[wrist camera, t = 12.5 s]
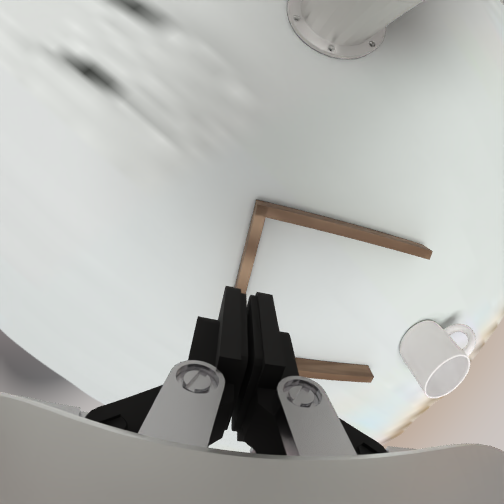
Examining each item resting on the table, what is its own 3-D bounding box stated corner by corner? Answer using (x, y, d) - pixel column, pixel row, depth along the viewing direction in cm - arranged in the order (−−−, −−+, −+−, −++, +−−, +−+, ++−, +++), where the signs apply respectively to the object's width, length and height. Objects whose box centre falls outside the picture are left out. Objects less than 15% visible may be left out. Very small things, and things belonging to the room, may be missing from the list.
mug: (451, 296, 43) (487, 329, 33) (458, 329, 45) (489, 362, 35) (392, 337, 44) (419, 378, 35) (404, 367, 47) (429, 406, 37)
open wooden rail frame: (256, 199, 37) (257, 204, 34) (421, 244, 39) (432, 251, 36) (219, 351, 44) (217, 364, 41) (364, 370, 46) (370, 382, 44)
